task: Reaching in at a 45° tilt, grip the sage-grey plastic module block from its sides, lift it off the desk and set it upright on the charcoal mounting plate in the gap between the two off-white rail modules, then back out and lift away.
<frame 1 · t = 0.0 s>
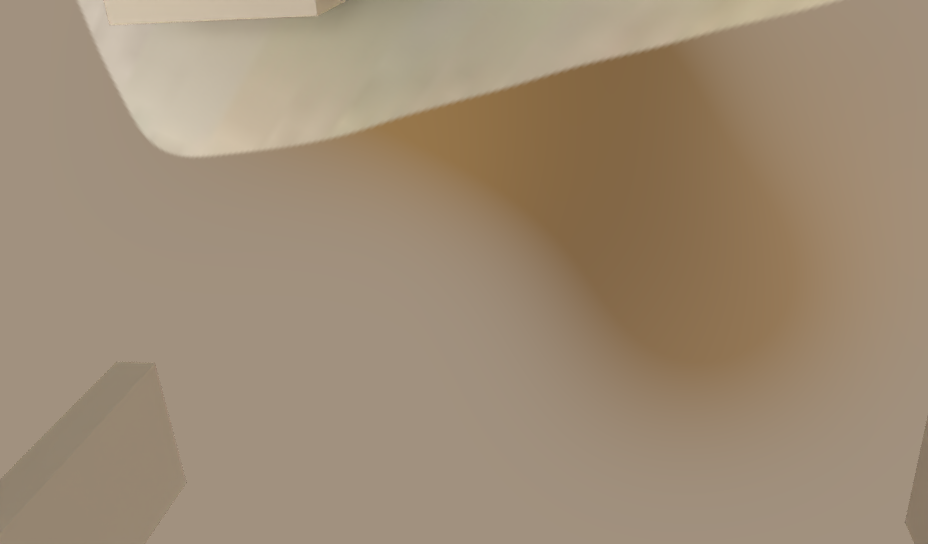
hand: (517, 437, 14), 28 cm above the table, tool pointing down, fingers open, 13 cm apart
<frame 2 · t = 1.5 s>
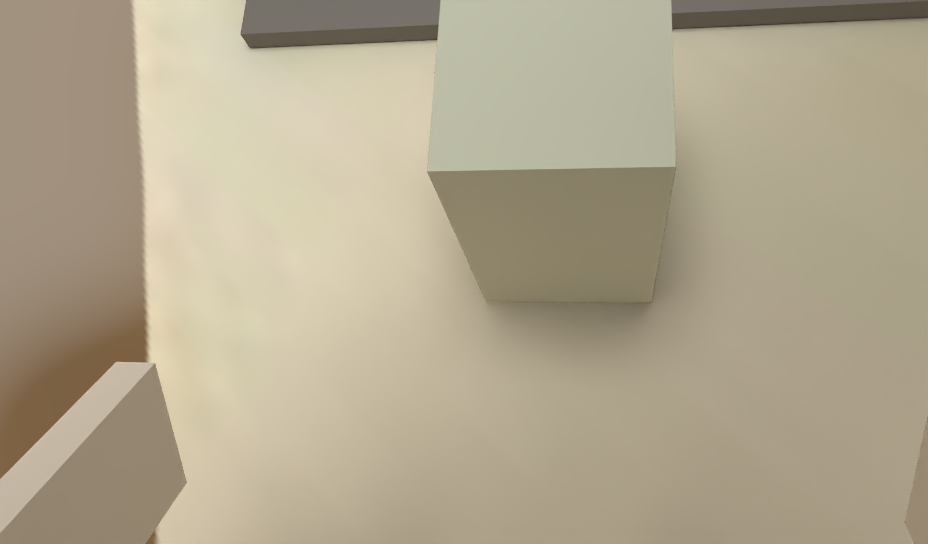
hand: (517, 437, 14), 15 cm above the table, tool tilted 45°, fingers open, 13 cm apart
module block: (568, 213, 31), on the table
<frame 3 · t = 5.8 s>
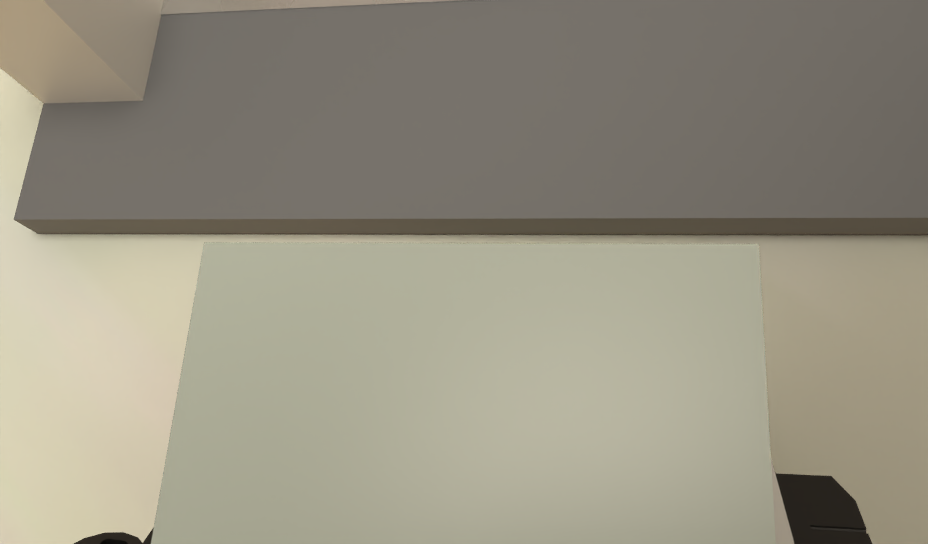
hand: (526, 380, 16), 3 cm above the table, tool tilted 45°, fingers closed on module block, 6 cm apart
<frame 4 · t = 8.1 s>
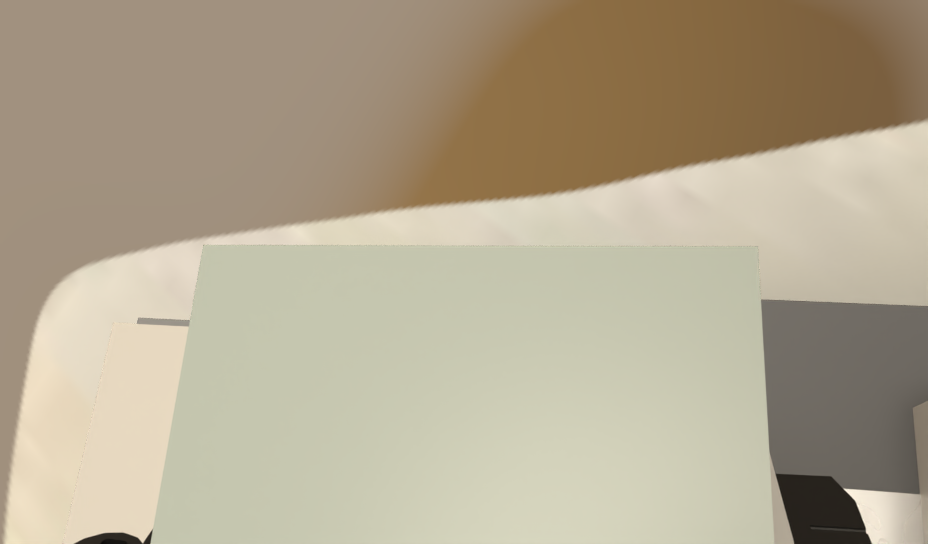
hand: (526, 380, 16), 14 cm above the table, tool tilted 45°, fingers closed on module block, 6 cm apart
rail plate: (568, 523, 28), on the table
when the fingers open (5 cm above the table, at t = 10.7 s): module block stays where it is, resting on rail plate.
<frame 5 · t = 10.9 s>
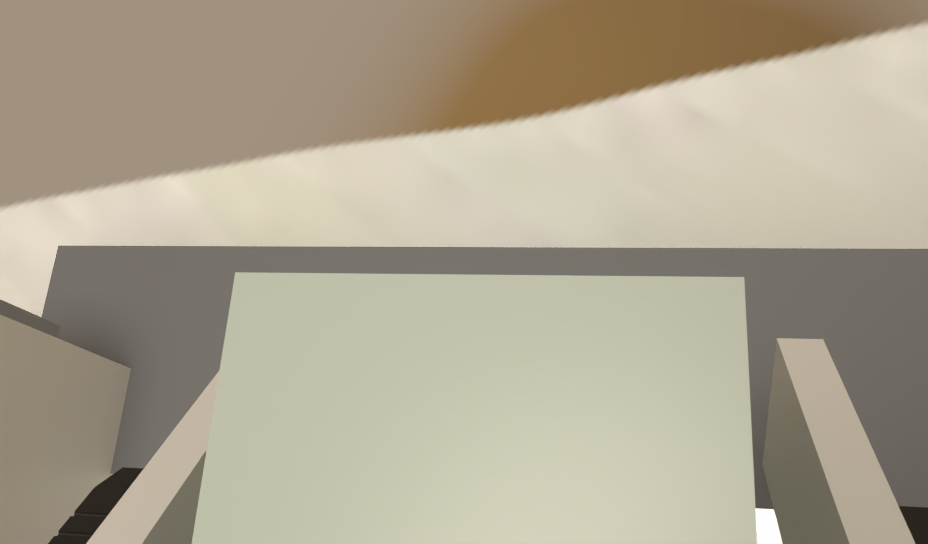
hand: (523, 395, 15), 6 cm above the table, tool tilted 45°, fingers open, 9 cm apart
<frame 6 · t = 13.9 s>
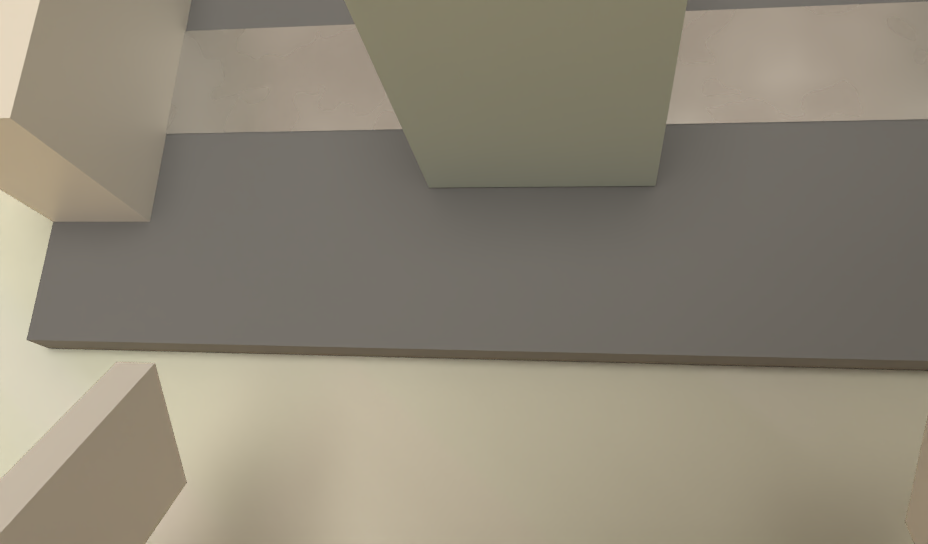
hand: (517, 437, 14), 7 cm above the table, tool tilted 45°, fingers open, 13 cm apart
module block: (543, 71, 23), point 1 cm above the table, touching rail plate
rail plate: (545, 89, 24), on the table
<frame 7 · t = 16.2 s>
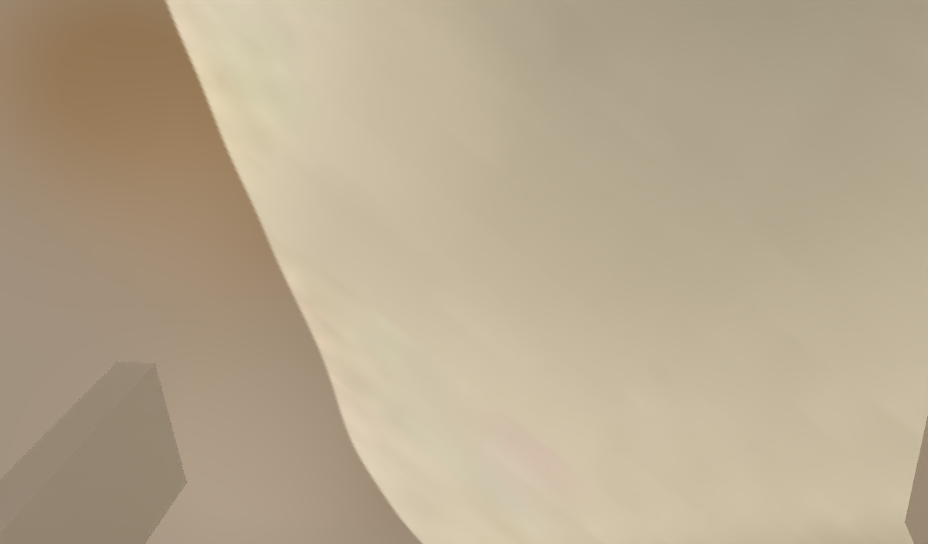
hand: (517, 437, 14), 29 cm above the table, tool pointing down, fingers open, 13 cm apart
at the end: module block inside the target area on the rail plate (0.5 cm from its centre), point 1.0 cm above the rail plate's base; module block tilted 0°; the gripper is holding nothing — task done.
